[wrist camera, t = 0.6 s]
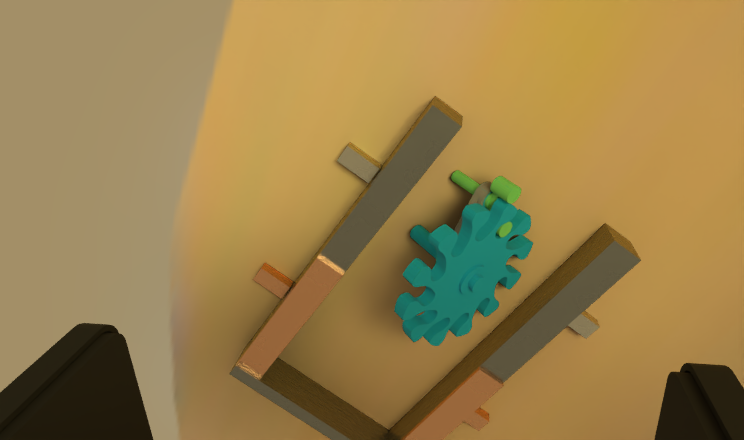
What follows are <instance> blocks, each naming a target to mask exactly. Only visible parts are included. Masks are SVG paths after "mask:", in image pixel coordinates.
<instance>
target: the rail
mask: <svg viewBox="0 0 744 440" xmlns="http://www.w3.org/2000/svg"><path fill="white" fill-rule="evenodd" d="M461 127H462V116H461V115H460V114H459V113H457V112H456V111H455V110H453V109H452V108H451V107H449V106H448V105H447V104H445V103H444V102H443V101H441V100H440V99H439V98H437V97H436V96H435V97H434V98H433V100H432V101H431V102H430V104H429V105H428V106H427V108H426V109H425V110H424V111H423V113H422V114H421V115H420V117H419V118H418V119H417V121H416V122H415V123H414V125H413V126H412V127H411V129H410V130H409V131H408V133H407V134H406V135H405V137H404V138H403V139H402V141H401V142H400V143H399V145H398V146H397V147H396V149H395V150H394V151H393V153H392V154H391V155H390V157H389V158H388V159H387V161H386V162H385V163H384V165H383V166H382V167H381V164H380V163H378V162H377V161H375V160H374V159H373V158H371V157H370V156H369V155H367V154H366V153H364V152H363V151H362V150H360V149H359V148H357V147H356V146H355V145H353V144H352V143H351V142H350V143H349V144H348V146H347V147H346V148H345V150H344V151H343V153H342V154H341V156H340V157H339V158H338V160H337V161H338V162H339V163H341V164H342V165H343V166H345V167H346V168H348V169H349V170H350V171H352V172H353V173H355V174H356V175H357V176H359V177H360V178H362V179H363V180H364V181H366V182H367V183H369V182H370V181H371V182H370V183H369V184H368V186H367V187H366V188H365V190H364V191H363V192H362V194H361V195H360V196H359V198H358V199H357V200H356V202H355V203H354V204H353V206H352V207H351V208H350V210H349V211H348V212H347V214H346V215H345V216H344V218H343V219H342V220H341V222H340V223H339V224H338V225H337V227H336V228H335V229H334V231H333V232H332V233H331V235H330V236H329V237H328V239H327V240H326V241H325V243H324V244H323V245H322V247H321V248H320V249H319V251H318V252H317V253H316V255H315V256H314V257H313V259H312V260H311V261H310V263H309V264H308V265H307V267H306V268H305V269H304V271H303V272H302V273H301V275H300V276H299V277H298V278H297V280H296V281H295V282H294V284H293V285H292V283H293V281H292V280H290V279H289V278H287V277H286V276H284V275H283V274H281V273H280V272H278V271H277V270H275V269H274V268H272V267H271V266H269V265H268V264H266V263H264V265H263V266H262V268H261V269H260V271H259V272H258V273H257V275H256V276H255V278H254V279H253V280H254V281H256V282H257V283H259V284H260V285H262V286H263V287H265V288H266V289H268V290H269V291H271V292H272V293H274V294H275V295H277V296H278V297H280V298H281V299H282V300H281V301H280V302H279V304H278V305H277V306H276V308H275V309H274V310H273V312H272V313H271V314H270V316H269V317H268V318H267V320H266V321H265V322H264V324H263V325H262V326H261V328H260V329H259V330H258V332H257V333H256V334H255V335H254V337H253V338H252V339H251V341H250V342H249V343H248V345H247V346H246V347H245V349H244V351H243V352H242V354H241V356H240V357H239V359H238V361H237V362H236V364H235V366H234V367H233V369H232V371H231V372H230V375H232V376H233V377H235V378H237V379H238V380H240V381H241V382H243V383H244V384H246V385H247V386H249V387H251V388H252V389H254V390H255V391H257V392H258V393H260V394H261V395H263V396H265V397H266V398H268V399H269V400H271V401H272V402H274V403H275V404H277V405H279V406H280V407H282V408H283V409H285V410H286V411H288V412H289V413H291V414H293V415H294V416H296V417H297V418H299V419H300V420H302V421H303V422H305V423H307V424H308V425H310V426H311V427H313V428H314V429H316V430H317V431H319V432H321V433H322V434H324V435H325V436H327V437H328V438H330V439H331V440H443V439H444V438H445V437H446V436H447V435H448V434H450V433H451V432H452V431H453V430H454V429H455V428H456V427H457V426H459V425H460V424H461V423H462V422H463V421H465V422H466V423H468V424H469V425H471V426H472V427H474V428H475V429H477V430H478V431H479V430H480V429H481V428H482V427H484V426H485V425H486V424H487V423H488V422H489V414H488V413H487V412H485V411H484V410H482V409H481V408H479V407H480V406H481V405H482V404H483V403H485V402H486V401H487V400H488V399H489V398H490V397H491V396H493V395H494V394H495V393H496V392H497V391H498V390H499V389H500V388H502V387H503V383H504V382H505V381H506V380H507V379H508V378H509V377H510V376H511V375H513V374H514V373H515V372H516V371H517V370H518V369H519V368H520V367H522V366H523V365H524V364H525V363H526V362H527V361H528V360H529V359H531V358H532V357H533V356H534V355H535V354H536V353H537V352H538V351H540V350H541V349H542V348H543V347H544V346H545V345H546V344H547V343H549V342H550V341H551V340H552V339H553V338H554V337H555V336H556V335H558V334H559V333H560V332H561V331H562V330H563V329H564V328H565V327H567V326H569V327H571V328H572V329H573V330H575V331H576V332H578V333H579V334H580V335H582V336H583V337H585V338H587V337H589V336H590V335H591V334H592V333H593V332H594V331H596V330H597V329H598V328H599V324H598V321H597V320H596V319H595V318H593V317H592V316H591V315H589V314H588V313H586V312H585V310H586V309H587V308H588V307H589V306H590V305H591V304H592V303H594V302H595V301H596V300H597V299H598V298H599V297H600V296H601V295H603V294H604V293H605V292H606V291H607V290H608V289H609V288H610V287H612V286H613V285H614V284H615V283H616V282H617V281H618V280H619V279H621V278H622V277H623V276H624V275H625V274H626V273H627V272H628V271H630V270H631V269H632V268H633V267H634V266H635V265H636V264H637V263H639V262H640V261H641V259H640V258H639V256H638V254H637V252H636V251H635V249H634V247H633V246H632V244H631V242H630V241H628V240H627V239H626V238H624V237H623V236H622V235H620V234H619V233H618V232H616V231H615V230H614V229H612V228H611V227H610V226H608V225H607V224H606V223H605V224H604V225H603V226H602V227H601V228H600V229H599V230H598V231H597V232H596V233H595V234H594V235H593V236H592V237H591V238H589V239H588V240H587V241H586V242H585V243H584V244H583V245H582V246H581V247H580V248H579V249H578V250H577V251H576V252H575V253H574V254H573V255H572V256H571V257H570V258H569V259H568V260H567V261H566V262H564V263H563V264H562V265H561V266H560V267H559V268H558V269H557V270H556V271H555V272H554V273H553V274H552V275H551V276H550V277H549V278H548V279H547V280H546V281H545V282H544V283H543V284H542V285H541V286H539V287H538V288H537V289H536V290H535V291H534V292H533V293H532V294H531V295H530V296H529V297H528V298H527V299H526V300H525V301H524V302H523V303H522V304H521V305H520V306H519V307H518V308H517V309H516V310H514V311H513V312H512V313H511V314H510V315H509V316H508V317H507V318H506V319H505V320H504V321H503V322H502V323H501V324H500V325H499V326H498V327H497V328H496V329H495V330H494V331H493V332H492V333H490V334H489V335H488V336H487V337H486V338H485V339H484V340H483V341H482V342H481V343H480V344H479V345H478V346H477V347H476V348H475V349H474V350H473V351H472V352H471V353H470V354H469V355H468V356H467V357H465V358H464V359H463V360H462V361H461V362H460V363H459V364H458V365H457V366H456V367H455V368H454V369H453V370H452V371H451V372H450V373H449V374H448V375H447V376H446V377H445V378H444V379H443V380H442V381H440V382H439V383H438V384H437V385H436V386H435V387H434V388H433V389H432V390H431V391H430V392H429V393H428V394H427V395H426V396H425V397H424V398H423V399H422V400H421V401H420V402H419V403H418V404H416V405H415V406H414V407H413V408H412V409H411V410H410V411H409V412H408V413H407V414H406V415H405V416H404V417H403V418H402V419H401V420H400V421H399V422H398V423H397V424H396V425H395V426H394V427H393V428H391V429H390V430H387V429H386V428H384V427H383V426H381V425H380V424H378V423H377V422H375V421H374V420H372V419H371V418H369V417H368V416H366V415H365V414H363V413H361V412H360V411H358V410H357V409H355V408H354V407H352V406H351V405H349V404H348V403H346V402H345V401H343V400H342V399H340V398H339V397H337V396H336V395H334V394H332V393H331V392H329V391H328V390H326V389H325V388H323V387H322V386H320V385H319V384H317V383H316V382H314V381H313V380H311V379H310V378H308V377H306V376H305V375H303V374H302V373H300V372H299V371H297V370H296V369H294V368H293V367H291V366H290V365H288V364H287V363H285V362H284V361H282V360H281V359H279V358H277V357H278V356H279V355H280V353H281V352H282V351H283V350H284V348H285V347H286V346H287V345H288V343H289V342H290V341H291V340H292V338H293V337H294V336H295V335H296V333H297V332H298V331H299V330H300V329H301V327H302V326H303V325H304V324H305V322H306V321H307V320H308V319H309V317H310V316H311V315H312V314H313V312H314V311H315V310H316V309H317V307H318V306H319V305H320V304H321V302H322V301H323V300H324V299H325V297H326V296H327V295H328V294H329V292H330V291H331V290H332V289H333V287H334V286H335V285H336V284H337V283H338V281H339V280H340V279H341V278H342V276H343V274H344V273H345V271H346V270H347V269H348V268H349V266H350V265H351V264H352V263H353V261H354V260H355V259H356V258H357V257H358V255H359V254H360V253H361V252H362V250H363V249H364V248H365V247H366V245H367V244H368V243H369V242H370V240H371V239H372V238H373V237H374V235H375V234H376V233H377V232H378V230H379V229H380V228H381V227H382V225H383V224H384V223H385V222H386V220H387V219H388V218H389V217H390V215H391V214H392V213H393V212H394V210H395V209H396V208H397V207H398V205H399V204H400V203H401V202H402V200H403V199H404V198H405V197H406V195H407V194H408V193H409V192H410V191H411V189H412V188H413V187H414V186H415V184H416V183H417V182H418V181H419V179H420V178H421V177H422V176H423V174H424V173H425V172H426V171H427V169H428V168H429V167H430V166H431V164H432V163H433V162H434V161H435V159H436V158H437V157H438V156H439V154H440V153H441V152H442V151H443V149H444V148H445V147H446V146H447V144H448V143H449V142H450V141H451V139H452V138H453V137H454V136H455V134H456V133H457V132H458V131H459V130H460V128H461ZM380 167H381V168H380ZM379 169H380V170H379ZM378 170H379V171H378ZM377 171H378V172H377ZM376 173H377V174H376ZM375 174H376V175H375ZM374 175H375V176H374ZM373 177H374V178H373ZM372 178H373V179H372ZM371 179H372V180H371ZM291 285H292V286H291ZM290 287H291V288H290ZM289 288H290V289H289ZM288 289H289V290H288ZM287 291H288V292H287ZM286 292H287V293H286ZM285 293H286V294H285ZM284 295H285V296H284ZM283 296H284V297H283ZM282 297H283V298H282Z"/></svg>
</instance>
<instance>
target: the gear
mask: <svg viewBox="0 0 744 440" xmlns="http://www.w3.org/2000/svg"><path fill="white" fill-rule="evenodd" d="M451 179H452V181H454V182H455V183H456V184H458V185H459V186H461V187H462V188H464V189H465V190H466V191H468V192H469V193H471V194H472V195H473V196H472V198H471V199H470V201H469V203H468V205H466V207H465V208H464V210H463V212H462V216H461V218H460V220H459V222H458V223H457V225H456V227H455V229H454V230H453V229H451V228H450V227H449V226H447V225H446V224H444V225H442V226H440V227H438V228H437V229H436V230H434V231H433V232H432V233H430V232H428V231H427V230H426V229H425V228H424V227H422V226H421V225H417V226H415V227H414V228H413V229H412V230H411V233H410V237H411V238H412V239H413V240H415V241H416V242H417V243H418V244H419V245H420V246H421V247H423V248H424V249H425V250H426V251H427V252H428V253H429V254H431V255H432V256H433V257H434V258H435V259H436V264H435V266H434V267H433V269H432V270H431V269H430V267H428V266H427V265H426V264H425V263H424V262H423V261H422V260H421V259H419V258H415V259H414V260H413V261H412V262H411V263H410V264H409V265H408V267H407V268H406V270H405V271H404V273H403V277H404V278H405V279H406V280H407V281H408V282H410V283H411V284H412V285H413V286H414V287H420V286H426V289H425V291H424V292H423V294H422V295H420V296H419V297H413V296H412V295H411V294H410V293H403V294H401V295H400V296H399V297H398V299H397V302H396V305H395V310H394V311H395V312H396V313H397V314H398V315H399V316H400V317H401V319H402V320H404V322H403V325H402V326H403V330H404V332H405V334H406V335H407V336H408V337H409V338H410V339H411V340H412V341H413V342H416V341H418V340H419V339H420V338H421V337H422V336H423V337H424V338H425V339H426V340H427V341H428V342H429V343H430V344H431V345H434V346H438V345H440V344H441V343H442V342H443V340H444V339H445V336H446V334H447V332H448V330H450V331H451V332H452V333H453V334H454V335H455V336H456V337H459V336H462V335H465V334H467V333H469V331H470V330H471V328H472V318H473V315H474V313H475V311H476V309H477V310H478V311H479V312H480V313H481V314H482V315H483V316H484V317H486V316H488V315H490V314H491V313H492V312H494V311H495V310H496V309H497V308H498V306H499V302H498V301H497V300H496V299H495V297H494V291H495V286H496V284H497V282H500V283H501V284H502V285H503V286H505V287H506V288H507V289H511V288H512V287H513V286H514V284H515V283H516V282H517V281H518V279H519V278H520V276H521V273H520V272H518V271H517V270H516V269H514V268H513V267H512V266H510V265H507V266H506V262H507V260H508V259H509V258H510V257H511V256H512V255H515V256H516V257H518V258H519V259H521V260H522V259H525V258H526V257H527V256H528V254H529V252H530V250H531V248H532V245H533V242H531V241H530V240H529V239H527V238H526V237H524V236H523V234H525V233H526V232H527V231H528V230H529V229H530V226H531V218H530V216H529V215H528V214H526V213H525V212H523V211H522V210H520V209H519V210H517V209H516V208H515V207H514V206H513V205H512V204H511V203H514V202H515V201H516V200H517V199H518V198H519V196H520V194H521V188H520V187H518V186H517V185H515V184H514V183H512V182H510V181H509V180H507V179H506V178H504V177H502V176H499V177H497V178H496V179H495V180H494V181H493V182H492V183H491V182H485V183H483V184H481V185H480V184H478V183H477V182H475V181H474V180H472V179H471V178H469V177H468V176H466V175H465V174H463V173H462V172H460V171H459V170H457V171H455V172H454V173H453V174H452V177H451ZM513 235H519V236H517V237H516V238H514V239H512V240H511V241H508V240H509V239H510V238H511V237H512V236H513ZM424 311H425V312H424ZM421 312H424V313H423V314H421V315H418V316H416V315H417V314H419V313H421Z"/></svg>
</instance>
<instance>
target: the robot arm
mask: <svg viewBox="0 0 744 440" xmlns="http://www.w3.org/2000/svg"><path fill="white" fill-rule="evenodd" d="M0 440H153V437H152V433H151V430H150V426H149V423H148V419H147V415H146V412H145V408H144V405H143V401H142V397H141V394H140V390H139V386H138V383H137V380H136V376H135V372H134V369H133V365H132V361H131V358H130V354H129V351H128V347H127V343H126V340H125V338H124V336H123V335H122V334H119V333H118V330H117V329H116V328H115V327H114V326H112V325H105V324H104V325H103V324H89V323H82V324H79V325H77V326H75V327H74V328H73V329H72V330H71V331H69V332H68V333H67V334H66V335H65V336H64V337H63V338H61V339H60V340H59V341H58V342H57V343H56V344H55V345H53V346H52V347H51V348H50V349H49V350H48V351H47V352H46V353H44V354H43V355H42V356H41V357H40V358H39V359H38V360H37V361H36V362H34V363H33V364H32V365H31V366H30V367H29V368H28V369H26V370H25V371H24V372H23V373H22V374H21V375H20V376H18V377H17V378H16V379H15V380H14V381H13V382H12V383H11V384H9V385H8V386H7V387H6V388H5V389H4V390H3V391H2V392H0ZM655 440H744V388H743V387H742V385H741V384H740V382H739V381H738V379H737V377H736V376H735V374H734V373H733V371H732V370H731V369H730V368H729V367H727V366H724V365H709V364H694V363H686V364H684V365H683V366H682V367H681V370H680V372H671V373H670V374H669V376H668V379H667V383H666V388H665V393H664V398H663V402H662V407H661V412H660V416H659V421H658V426H657V431H656V435H655Z"/></svg>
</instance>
